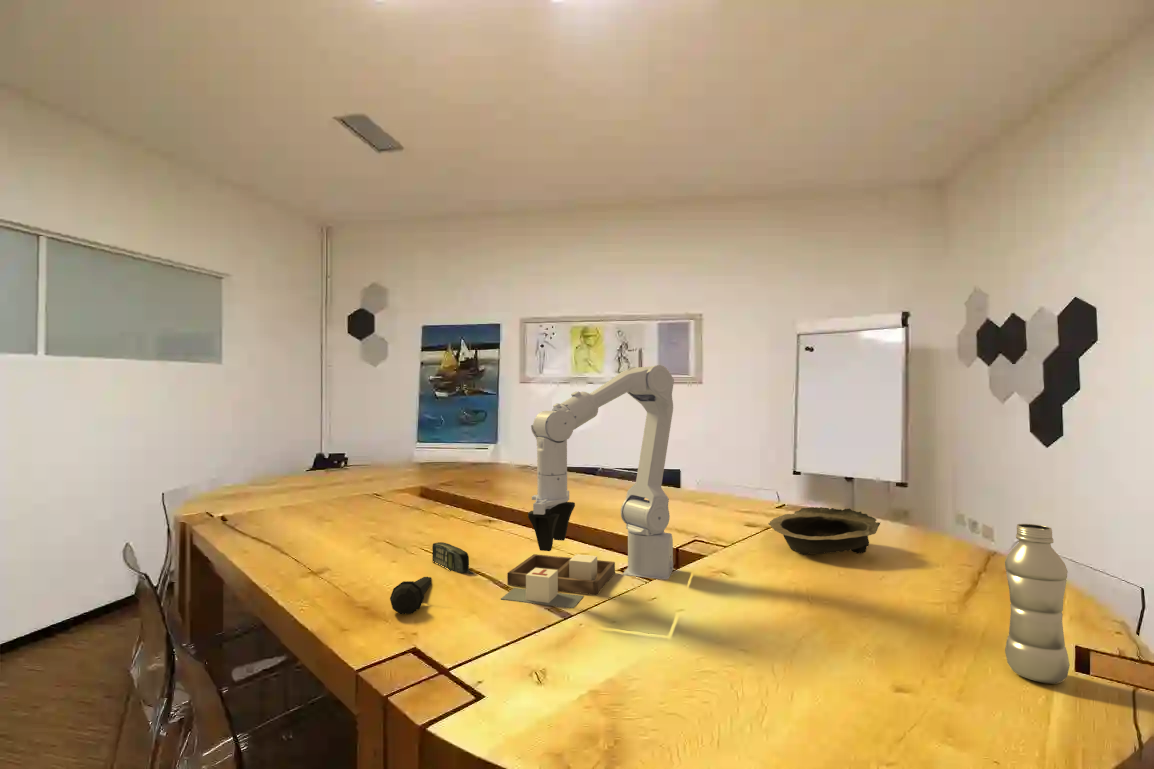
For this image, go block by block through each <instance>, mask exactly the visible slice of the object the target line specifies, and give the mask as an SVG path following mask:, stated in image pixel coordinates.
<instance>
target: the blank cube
mask: <svg viewBox="0 0 1154 769" xmlns="http://www.w3.org/2000/svg"><path fill="white" fill-rule="evenodd" d="M570 558H571V559H570V560H569V578H573V579H583V580H592V581H594V580H595V579H596V578H597V560H598V556H597V555H589V554H588V555H587V554H579V553H578V554H577V553H576V554H575V555H574V556H572V557H570Z"/></svg>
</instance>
